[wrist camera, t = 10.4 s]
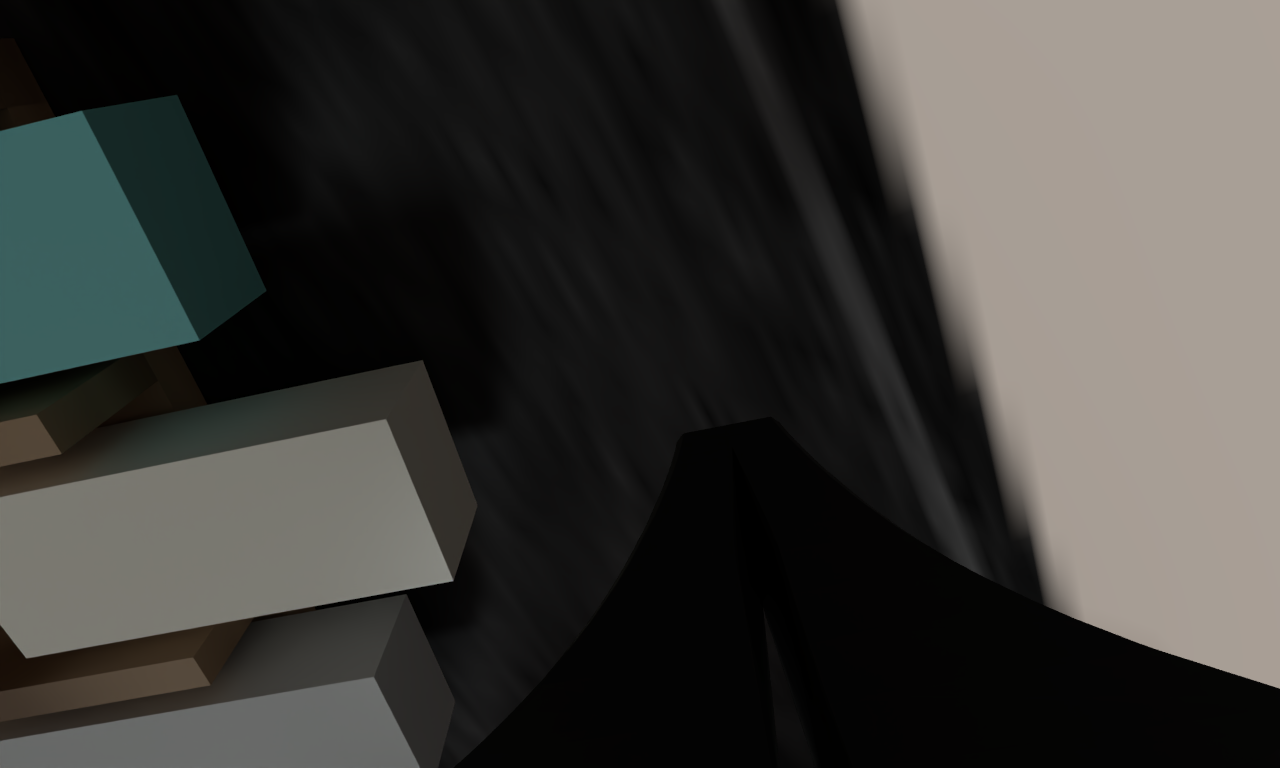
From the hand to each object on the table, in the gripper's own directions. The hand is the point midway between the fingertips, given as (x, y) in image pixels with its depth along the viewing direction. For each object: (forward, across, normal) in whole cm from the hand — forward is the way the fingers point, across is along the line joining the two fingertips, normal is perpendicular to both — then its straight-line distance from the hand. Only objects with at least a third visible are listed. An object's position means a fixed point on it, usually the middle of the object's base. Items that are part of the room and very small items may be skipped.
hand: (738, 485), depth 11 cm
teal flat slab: (+3, +11, -5) cm, 13 cm away
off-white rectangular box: (+3, +9, 0) cm, 10 cm away
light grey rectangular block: (+3, +11, +5) cm, 13 cm away
